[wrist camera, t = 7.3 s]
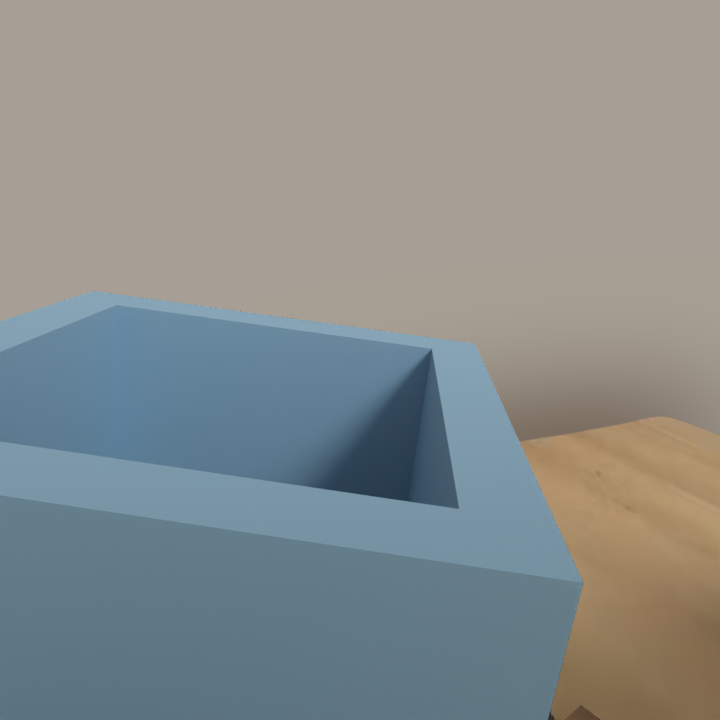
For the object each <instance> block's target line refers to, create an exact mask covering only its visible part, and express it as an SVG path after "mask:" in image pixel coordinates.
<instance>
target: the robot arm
mask: <svg viewBox="0 0 720 720" xmlns="http://www.w3.org/2000/svg"><path fill="white" fill-rule="evenodd" d="M548 720H554V718H553V716H551V709H550V713H549V717H548Z"/></svg>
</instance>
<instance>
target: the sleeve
mask: <svg viewBox="0 0 720 720" xmlns="http://www.w3.org/2000/svg"><path fill="white" fill-rule="evenodd" d="M582 586H583V581H582V579H581V577H580V574H579V572H578V570H577V568H576V566H575V563H574V561H573V559H572V557H571V555H570V552H569V550H568V548H567V546H566V544H565V541H564V539H563V537H562V535H561V533H560V530H559V528H558V526H557V524H556V521H555V519H554V517H553V515H552V513H551V510H550V508H549V506H548V504H547V502H546V499H545V497H544V495H543V493H542V491H541V488H540V486H539V484H538V482H537V480H536V477H535V475H534V473H533V471H532V469H531V466H530V464H529V462H528V460H527V458H526V455H525V453H524V451H523V449H522V447H521V444H520V442H519V440H518V438H517V436H516V434H515V431H514V429H513V427H512V425H511V422H510V420H509V418H508V416H507V414H506V411H505V409H504V407H503V405H502V403H501V400H500V398H499V396H498V394H497V391H496V389H495V387H494V385H493V383H492V380H491V378H490V376H489V374H488V372H487V369H486V367H485V365H484V363H483V361H482V358H481V356H480V354H479V352H478V350H477V348H476V345H475V344H472V343H465V342H457V341H451V340H443V339H436V338H429V337H421V336H415V335H407V334H400V333H392V332H386V331H379V330H371V329H364V328H356V327H350V326H342V325H335V324H328V323H321V322H313V321H306V320H299V319H292V318H284V317H277V316H270V315H263V314H256V313H248V312H241V311H234V310H227V309H219V308H212V307H205V306H197V305H190V304H183V303H176V302H169V301H161V300H154V299H147V298H140V297H132V296H124V295H118V294H111V293H104V292H96V291H92V292H89V293H86V294H83V295H80V296H76V297H74V298H70V299H68V300H64V301H61V302H58V303H55V304H52V305H49V306H46V307H43V308H40V309H37V310H34V311H31V312H28V313H25V314H22V315H18V316H16V317H13V318H9V319H6V320H3V321H0V720H548V717H549V713H550V709H551V706H552V702H553V698H554V694H555V690H556V686H557V682H558V679H559V675H560V671H561V667H562V663H563V659H564V655H565V652H566V648H567V644H568V640H569V636H570V632H571V629H572V625H573V621H574V617H575V613H576V609H577V605H578V602H579V598H580V594H581V590H582Z"/></svg>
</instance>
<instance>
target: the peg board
mask: <svg viewBox="0 0 720 720" xmlns="http://www.w3.org/2000/svg"><path fill="white" fill-rule="evenodd" d="M565 720H600V719H599V718H597V717H596V716H595V715H593V714H592V713H591V712H589V711H588V710H587V709H585V708H584V707H583V706H580V707H579V708H577V709H576V710H575V711H574V712H573V713H572V714H571V715H569V716H568V717H567V718H566V719H565Z"/></svg>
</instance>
